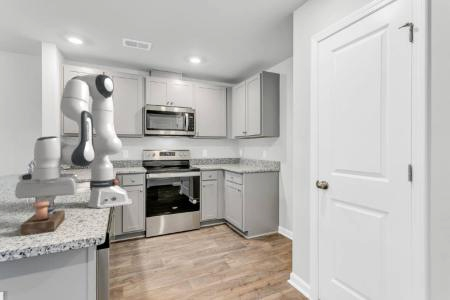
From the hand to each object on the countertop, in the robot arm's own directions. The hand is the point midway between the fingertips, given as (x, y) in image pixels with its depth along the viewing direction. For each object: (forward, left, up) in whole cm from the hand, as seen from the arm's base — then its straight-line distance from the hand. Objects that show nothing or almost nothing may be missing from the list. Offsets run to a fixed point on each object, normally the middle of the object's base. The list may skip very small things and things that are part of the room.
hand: (47, 206), depth 92 cm
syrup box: (+10, -33, -7) cm, 35 cm away
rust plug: (0, +8, -3) cm, 8 cm away
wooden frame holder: (0, +4, -7) cm, 8 cm away
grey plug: (0, 0, -6) cm, 6 cm away
